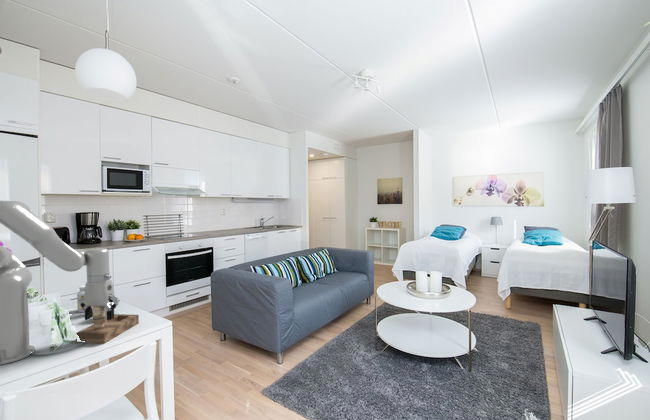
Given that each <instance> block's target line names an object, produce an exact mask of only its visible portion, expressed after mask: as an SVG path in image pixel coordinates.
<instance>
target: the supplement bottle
mask: <svg viewBox="0 0 650 420" xmlns="http://www.w3.org/2000/svg"><path fill="white" fill-rule="evenodd" d="M85 285H86V284H85ZM85 285H80V286H79V291H78V292H77V293H76V297H77V298H76V299H77V300H76V301H77V312H78V313H85V310H83V308H82V307H81V305H80V303H79V301H78V300H79V299H80V298H82V297H84V292H85ZM91 308H92V309H93V306H92V307H91Z"/></svg>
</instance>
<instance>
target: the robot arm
mask: <svg viewBox="0 0 650 420" xmlns="http://www.w3.org/2000/svg"><path fill="white" fill-rule="evenodd" d="M0 224H1V225H3V226H4V227H5V228H6V229H8V230H9V231H11V232H13V234H16V235H17V236H18V237H19V238H21V239H22V240H24V241H25V242H27V244H29V245H30V246H31V247H32V248H33V249H34V250H36V251H38V253H39V254H40V255H42V256H43V257H44V258H45V259H47V260H48V261H49V262H51V263H52V264H54V265H55V266H56V267H58V268H60V269H61V270H62V271H65V272H69V273H70V272H76V271H79V270H81V268H83V267H84V266H86V282H85V292H84V297H82V298H80V299H79V300H78V301H79V303H80V305H81V307H82V308H83V310H85V312H84V320H86V321H88V320H90V319H93V309H92V308H91V307H92V306H105V307H106V308H107V309H108V311H107V320H111V319H113V318H114V309H115V308H116V309H117V307H118V305H119V302H120V301H121V299H120V298H118V297H117V296H116V295H115V289H114V283H113V281H112V280H111V279H112V276H111V275H110V254H109V253H110V252H109V249H107V248H106V247H105V248H104V247H97V248H91V249H86V248H85V249H82V248H81V249H80V248H72V247H71V246H70V245H68V244H67V243H66V242H64V241H63V240H62V239H61V238H60V236H59V235H58V233H56V231H55V229H54V228H53V227H52V226H51V225H50V224H48V223H47V222H46V221H44V220H43V219H41V218H40V217H39V216H37V215H36V214H35V213H33V211H31V209H30V207H29V205H28V204H26V203H24V202H22V201H16V200H0ZM32 280H33V274H32V272H31V271H30V269H29V268H28V267H27V266H26V265H25V264H24V263H23V262H22V261H21V260H20V259H19V258H18V257H17V256H16V255H15V254H14V253H13V252H12V251H11V250H10V249H8V248H7V247H6V246H3V245H0V366H1V365H5V364H11V363H13V362H14V363H15V362H19V361H20V360H23V359H25V358H28V357H30V356H31V355H30V353H31V352H33V351H36V346H35V345H30V323H29V316H30V315H29V300H28V291H27V289H28V287H29V286H30V284H31V282H32ZM113 302H114V304H113ZM109 305H110V306H111V307H110V306H109Z"/></svg>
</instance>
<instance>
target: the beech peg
mask: <svg viewBox="0 0 650 420" xmlns="http://www.w3.org/2000/svg"><path fill="white" fill-rule="evenodd" d="M104 322H105V306H93V317H92V323H93V324H94V326H95V330H101V329H103V328H104ZM93 324H92V325H93Z"/></svg>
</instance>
